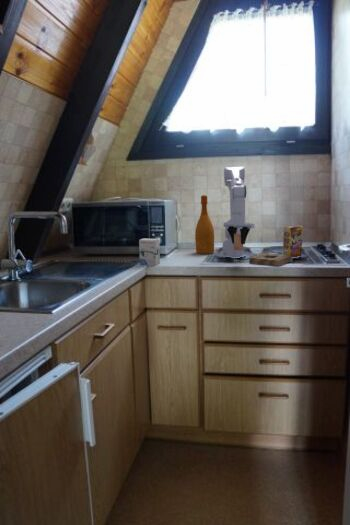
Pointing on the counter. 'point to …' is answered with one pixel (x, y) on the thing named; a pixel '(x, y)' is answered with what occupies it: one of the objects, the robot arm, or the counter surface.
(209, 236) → the wine bottle
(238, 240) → the peg
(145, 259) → the ink box
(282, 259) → the socket block
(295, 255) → the candy box
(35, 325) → the counter surface
